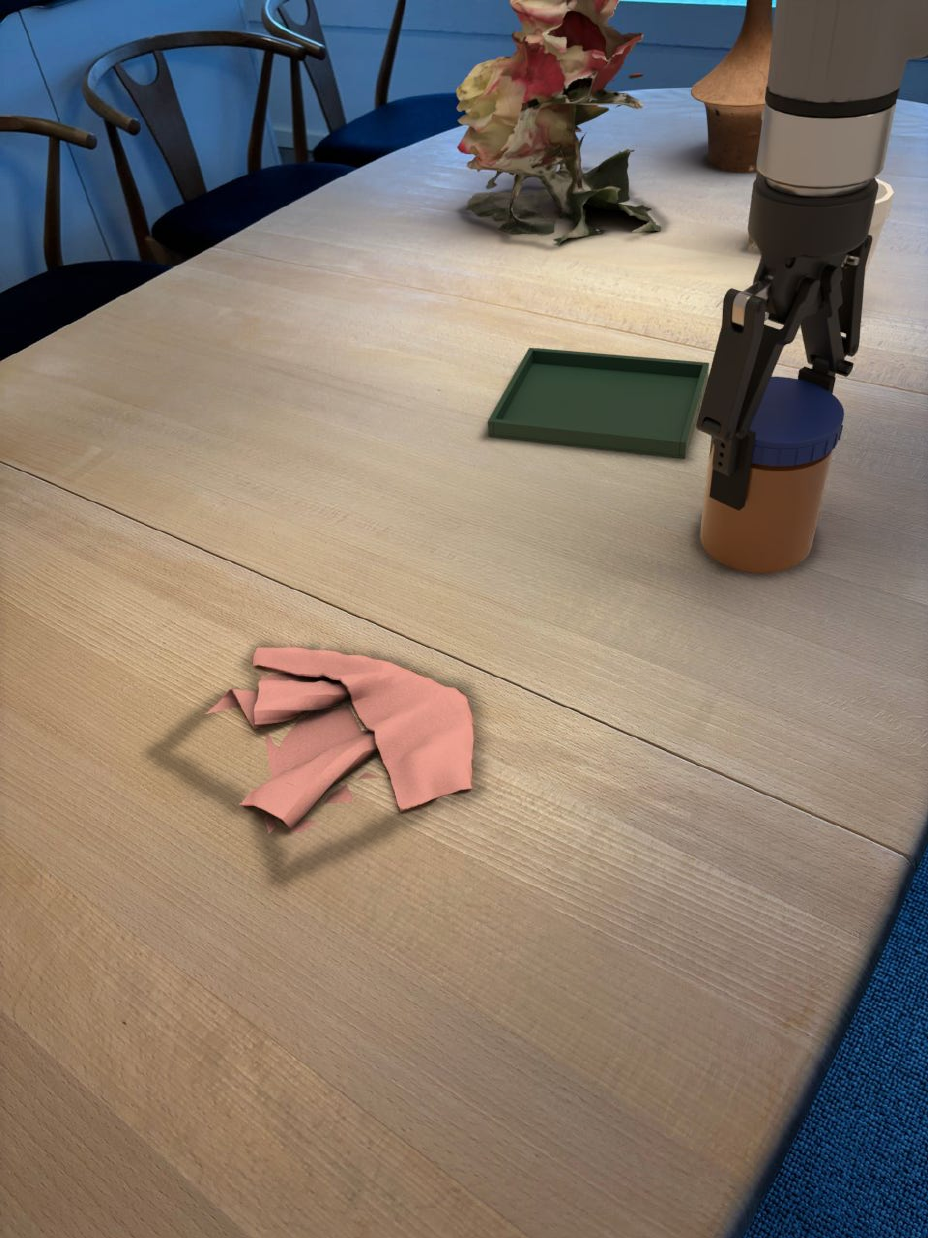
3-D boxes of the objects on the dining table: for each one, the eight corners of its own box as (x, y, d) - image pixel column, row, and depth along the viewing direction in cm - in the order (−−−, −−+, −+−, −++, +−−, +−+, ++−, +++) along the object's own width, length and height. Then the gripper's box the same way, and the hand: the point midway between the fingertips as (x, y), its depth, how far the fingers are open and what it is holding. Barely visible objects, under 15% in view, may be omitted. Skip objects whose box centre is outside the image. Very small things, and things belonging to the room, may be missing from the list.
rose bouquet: (588, 167, 148) (590, -68, 127) (684, 229, 127) (705, -39, 107) (433, 201, 142) (410, -39, 122) (508, 271, 122) (495, -3, 101)
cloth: (515, 797, 62) (514, 774, 60) (183, 912, 58) (171, 891, 56) (421, 605, 76) (417, 582, 75) (149, 685, 72) (139, 663, 70)
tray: (707, 379, 98) (709, 362, 97) (684, 460, 88) (686, 442, 87) (529, 364, 104) (529, 347, 102) (488, 438, 93) (487, 421, 92)
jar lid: (838, 472, 67) (844, 449, 66) (702, 459, 70) (704, 436, 68) (840, 403, 74) (845, 380, 72) (715, 393, 76) (718, 371, 75)
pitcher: (732, 136, 153) (755, -77, 134) (826, 155, 143) (865, -71, 124) (663, 167, 145) (676, -54, 126) (757, 190, 135) (787, -47, 116)
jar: (814, 515, 81) (841, 394, 73) (807, 582, 75) (835, 459, 67) (707, 501, 83) (721, 383, 75) (692, 566, 77) (706, 445, 69)
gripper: (859, 118, 66) (805, 401, 81) (655, 216, 56) (637, 517, 72) (963, 137, 62) (885, 431, 77) (762, 246, 52) (718, 560, 67)
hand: (766, 472), depth 74 cm, fingers closed on jar lid, 9 cm apart
